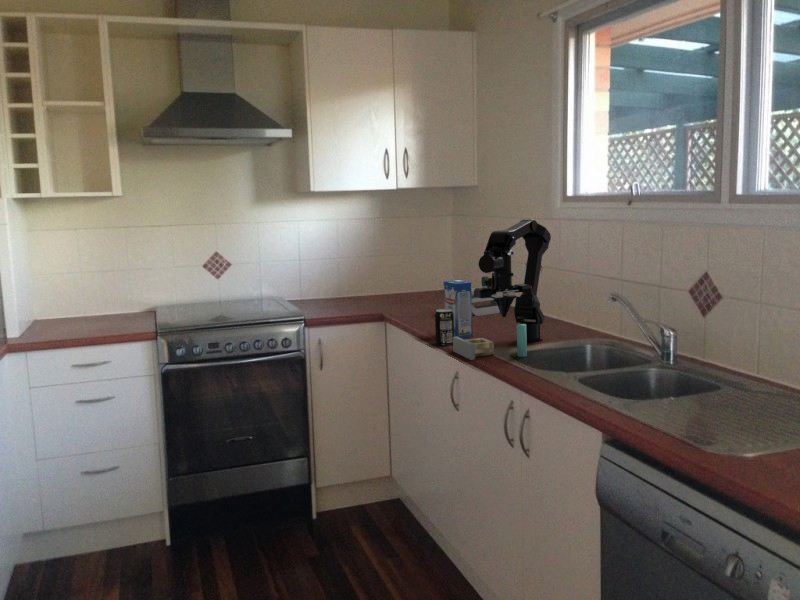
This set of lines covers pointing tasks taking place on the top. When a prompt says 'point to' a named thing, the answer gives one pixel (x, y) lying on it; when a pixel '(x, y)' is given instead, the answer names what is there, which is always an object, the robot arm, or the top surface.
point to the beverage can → (444, 326)
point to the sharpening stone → (484, 309)
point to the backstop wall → (464, 348)
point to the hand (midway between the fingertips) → (503, 317)
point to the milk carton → (459, 306)
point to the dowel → (521, 340)
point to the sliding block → (482, 346)
